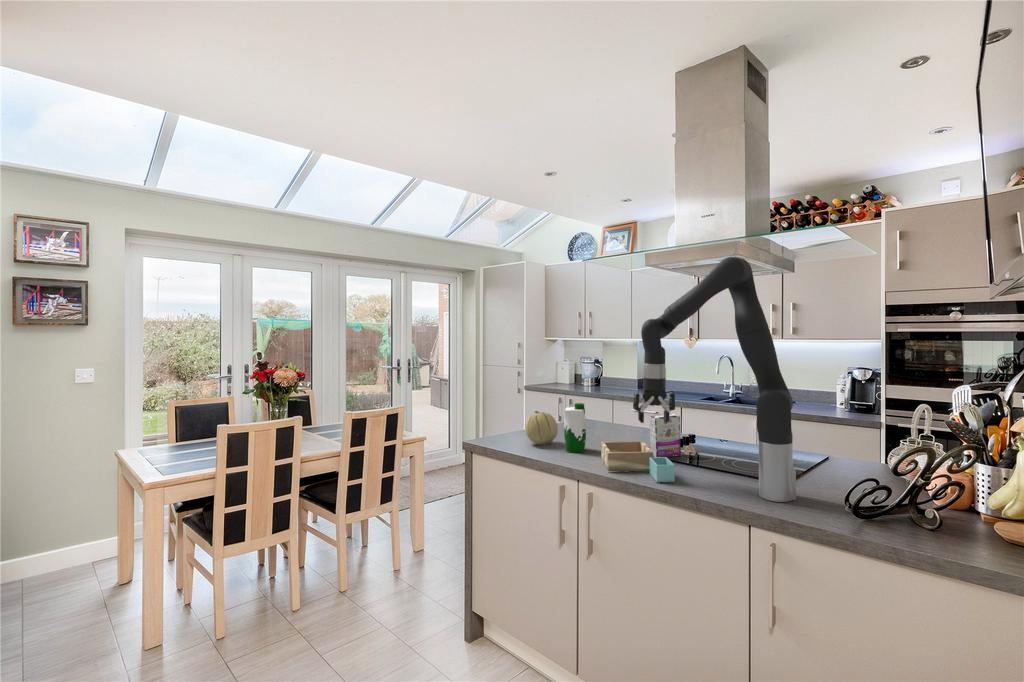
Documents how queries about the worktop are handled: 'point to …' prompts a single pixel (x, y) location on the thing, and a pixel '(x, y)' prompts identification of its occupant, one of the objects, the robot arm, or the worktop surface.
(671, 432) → the candy bar box
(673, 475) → the teal crate
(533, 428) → the cantaloupe
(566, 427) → the milk carton
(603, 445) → the pine crate
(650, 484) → the worktop surface
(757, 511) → the worktop surface
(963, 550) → the worktop surface
